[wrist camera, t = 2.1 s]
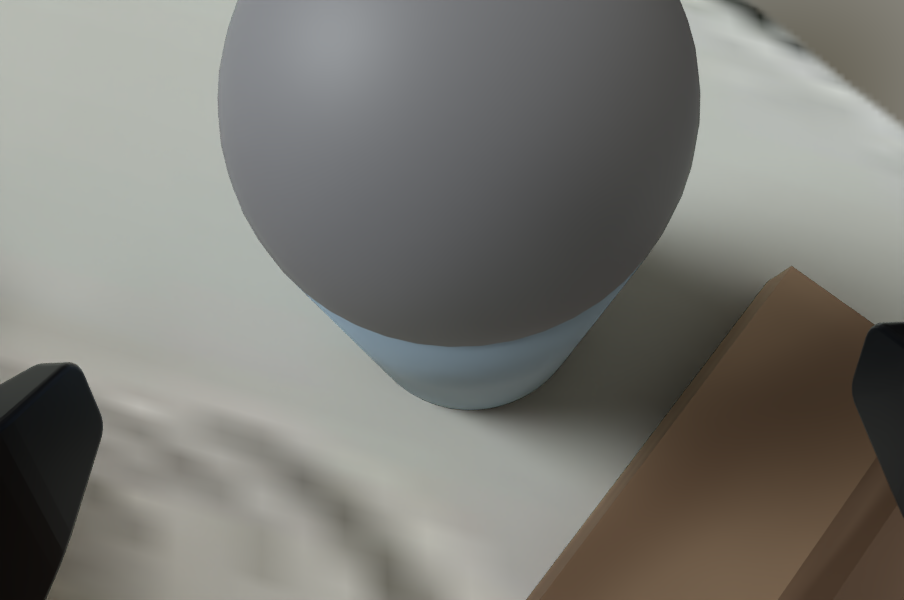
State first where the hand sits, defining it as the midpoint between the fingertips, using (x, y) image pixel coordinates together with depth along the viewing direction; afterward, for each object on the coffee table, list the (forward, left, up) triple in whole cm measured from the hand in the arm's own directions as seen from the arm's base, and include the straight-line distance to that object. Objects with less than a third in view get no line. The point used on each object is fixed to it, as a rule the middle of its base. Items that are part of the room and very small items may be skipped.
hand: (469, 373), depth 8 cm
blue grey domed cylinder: (+3, 0, -10) cm, 11 cm away
